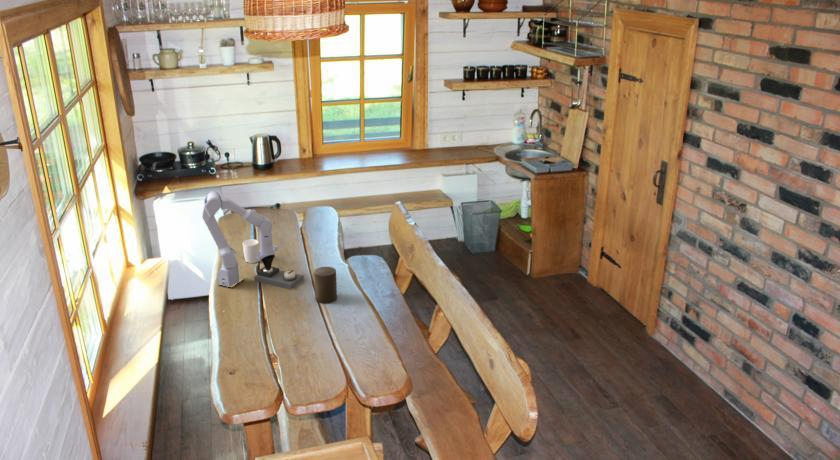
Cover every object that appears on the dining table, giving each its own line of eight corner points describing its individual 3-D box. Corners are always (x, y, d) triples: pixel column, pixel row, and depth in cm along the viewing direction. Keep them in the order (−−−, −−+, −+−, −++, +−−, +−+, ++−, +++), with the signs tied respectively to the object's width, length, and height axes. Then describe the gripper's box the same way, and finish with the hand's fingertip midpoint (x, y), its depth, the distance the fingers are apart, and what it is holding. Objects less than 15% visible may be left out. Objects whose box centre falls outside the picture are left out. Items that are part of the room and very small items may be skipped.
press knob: (269, 275, 332) (269, 271, 331) (261, 273, 333) (261, 270, 333) (274, 272, 335) (274, 268, 335) (267, 270, 337) (266, 266, 336)
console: (290, 289, 325) (290, 280, 323) (254, 281, 332) (254, 272, 330) (303, 280, 334) (303, 271, 332) (268, 272, 342) (267, 263, 340)
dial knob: (291, 280, 327) (291, 275, 326) (282, 278, 329) (281, 273, 328) (297, 275, 331) (297, 271, 330) (288, 273, 333) (288, 269, 332)
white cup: (262, 258, 357) (260, 239, 353) (257, 264, 349) (255, 245, 346) (246, 257, 357) (245, 238, 354) (241, 263, 350) (240, 245, 346)
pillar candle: (333, 304, 312) (332, 273, 307) (312, 302, 314) (310, 271, 308) (339, 295, 321) (339, 264, 315) (319, 292, 323) (318, 262, 317)
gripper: (264, 249, 321) (266, 277, 326) (282, 238, 333) (284, 264, 338) (251, 247, 323) (253, 274, 329) (269, 236, 336) (271, 262, 341)
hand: (268, 269), depth 334 cm, fingers closed, pressing on press knob
